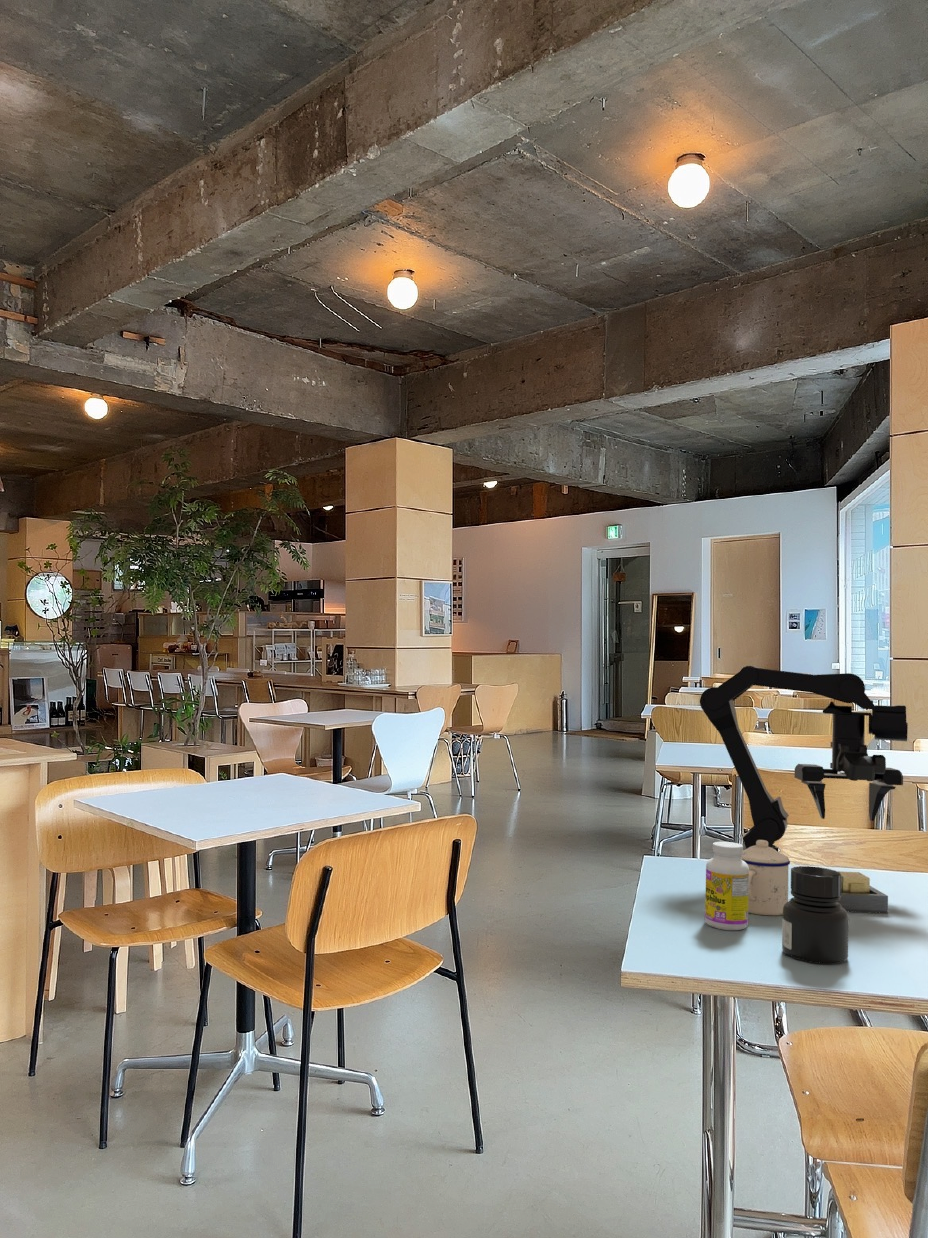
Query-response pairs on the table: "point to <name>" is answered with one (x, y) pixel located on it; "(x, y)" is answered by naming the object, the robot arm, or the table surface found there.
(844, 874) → the pale yellow block
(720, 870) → the supplement bottle
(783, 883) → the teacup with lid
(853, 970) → the table surface
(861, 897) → the dark grey tray
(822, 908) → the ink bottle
